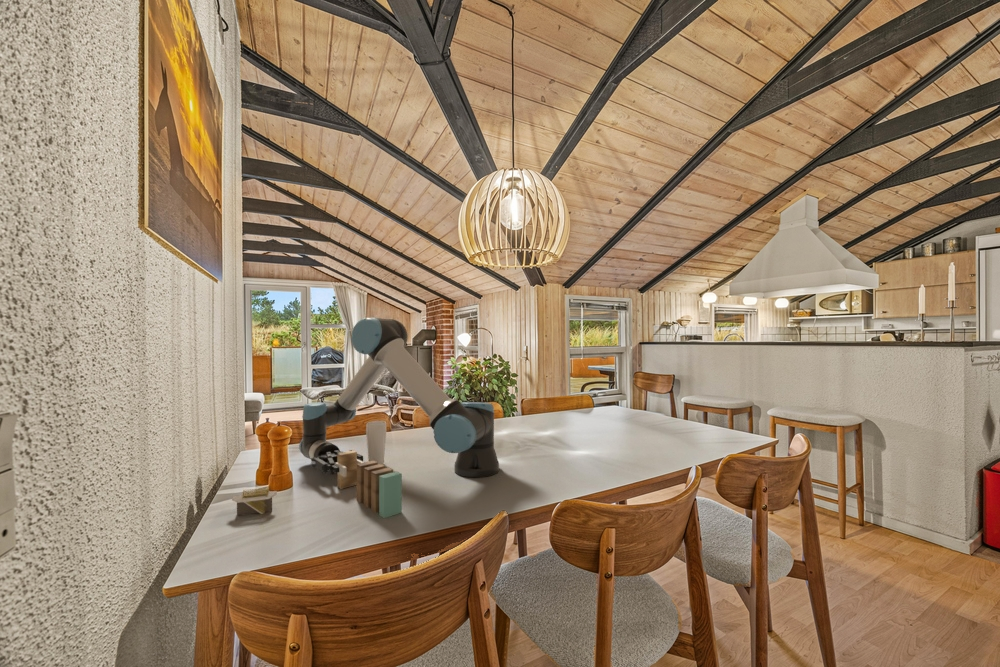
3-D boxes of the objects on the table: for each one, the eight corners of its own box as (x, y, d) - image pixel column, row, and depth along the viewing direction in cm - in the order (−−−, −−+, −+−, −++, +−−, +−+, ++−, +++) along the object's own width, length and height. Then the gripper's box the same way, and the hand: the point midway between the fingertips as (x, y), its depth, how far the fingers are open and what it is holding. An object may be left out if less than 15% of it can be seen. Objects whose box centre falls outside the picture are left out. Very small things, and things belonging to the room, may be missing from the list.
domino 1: (353, 482, 125) (353, 450, 126) (356, 484, 124) (356, 451, 124) (337, 486, 122) (337, 453, 122) (340, 488, 120) (340, 455, 120)
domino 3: (380, 499, 113) (381, 463, 113) (385, 502, 111) (385, 465, 111) (363, 505, 109) (363, 467, 109) (367, 507, 107) (367, 469, 108)
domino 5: (396, 509, 106) (397, 471, 106) (401, 512, 105) (401, 473, 105) (379, 515, 103) (379, 475, 103) (383, 518, 101) (383, 478, 101)
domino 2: (373, 495, 116) (373, 460, 116) (377, 497, 114) (377, 462, 114) (356, 500, 112) (356, 464, 112) (360, 502, 111) (360, 466, 111)
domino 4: (388, 504, 109) (388, 467, 110) (393, 507, 108) (393, 469, 108) (371, 510, 106) (371, 471, 106) (375, 512, 104) (375, 473, 104)
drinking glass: (370, 469, 139) (370, 425, 139) (363, 464, 144) (363, 422, 144) (389, 465, 143) (389, 422, 143) (381, 460, 148) (381, 419, 148)
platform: (289, 520, 101) (289, 493, 101) (203, 532, 95) (204, 504, 95) (296, 502, 112) (296, 478, 112) (220, 511, 106) (220, 486, 106)
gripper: (351, 459, 142) (383, 475, 125) (296, 471, 130) (323, 490, 113) (351, 437, 142) (383, 451, 125) (296, 447, 130) (323, 463, 113)
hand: (354, 469), depth 119 cm, fingers closed on domino 1, 5 cm apart
